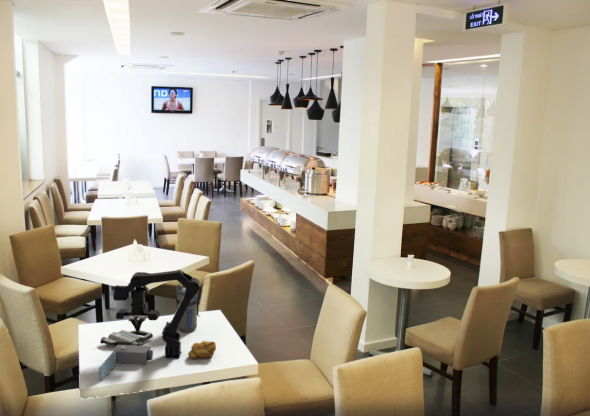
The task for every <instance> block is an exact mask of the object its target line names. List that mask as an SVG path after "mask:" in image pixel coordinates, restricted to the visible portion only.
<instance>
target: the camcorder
mask: <svg viewBox="0 0 590 416" xmlns="http://www.w3.org/2000/svg"><path fill="white" fill-rule="evenodd" d="M153 337H154V334H153V333H152V332H149V331H145V330H141V329H140V331H139V332H136V330H135V329H134V330H128V331H127V330H125V329H121V330H120V331H118V332H115V331H114V332H112V333H109V335H108V337H105V336H102V337H101V338H100V344H101V345H103V344H105V345H107V346H111V347H113V346H114V347H117V345H137V346H144V343H145V342H147V341H148V340H150V339H152V338H153Z"/></svg>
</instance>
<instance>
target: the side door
mask: <svg viewBox="0 0 590 416" xmlns="http://www.w3.org/2000/svg"><path fill="white" fill-rule="evenodd" d="M116 365H117V364H116V352H115V351H112V352H111V353H110V354H109V356H108V357H107V358H106V359H105V360H104V361H103V362H102V363H101V365H100V366H99V367H98V373H99V375H98V376H99V380H100V381H103V380H104V379H105V378H106V376H107V375H108V374H109V373H110V371H111V370H112V369H113V368H114V367H115V366H116Z"/></svg>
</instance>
